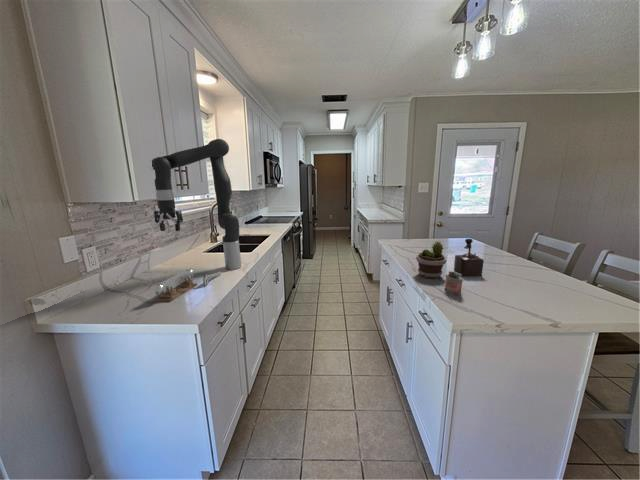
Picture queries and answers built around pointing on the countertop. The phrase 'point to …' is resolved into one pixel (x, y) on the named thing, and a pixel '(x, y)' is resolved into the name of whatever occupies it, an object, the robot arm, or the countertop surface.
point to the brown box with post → (468, 263)
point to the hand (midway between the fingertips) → (170, 230)
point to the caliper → (209, 277)
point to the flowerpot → (431, 262)
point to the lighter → (453, 283)
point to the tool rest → (176, 291)
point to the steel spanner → (173, 281)
